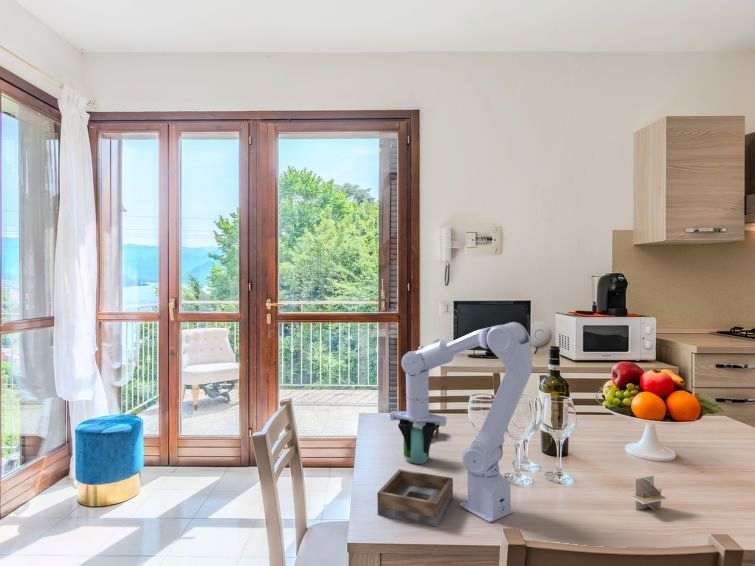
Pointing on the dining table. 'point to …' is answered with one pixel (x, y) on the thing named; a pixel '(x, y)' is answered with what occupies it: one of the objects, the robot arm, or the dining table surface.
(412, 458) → the peg
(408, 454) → the soda can
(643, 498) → the architectural model
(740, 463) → the dining table surface
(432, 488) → the socket box
